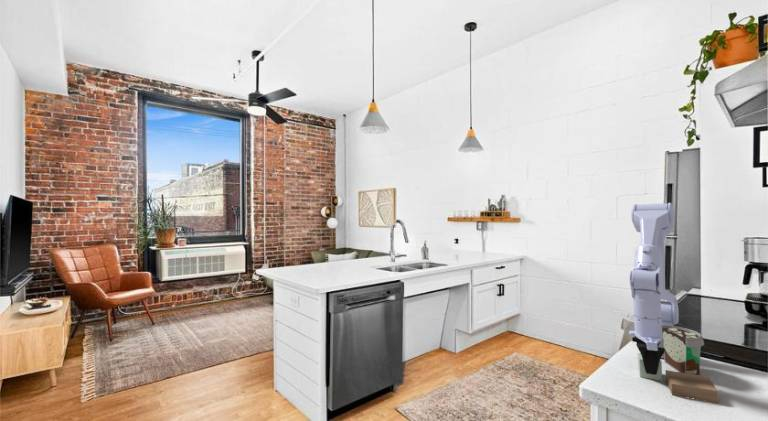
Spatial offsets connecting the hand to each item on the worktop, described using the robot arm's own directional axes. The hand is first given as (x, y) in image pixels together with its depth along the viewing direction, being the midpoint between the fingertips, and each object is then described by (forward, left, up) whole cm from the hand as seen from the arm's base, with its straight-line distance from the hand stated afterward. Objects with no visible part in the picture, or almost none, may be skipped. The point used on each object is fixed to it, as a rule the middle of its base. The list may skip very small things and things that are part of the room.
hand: (649, 369), depth 93 cm
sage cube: (0, 0, -1) cm, 1 cm away
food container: (-8, +9, -2) cm, 12 cm away
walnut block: (+6, +7, -2) cm, 9 cm away
